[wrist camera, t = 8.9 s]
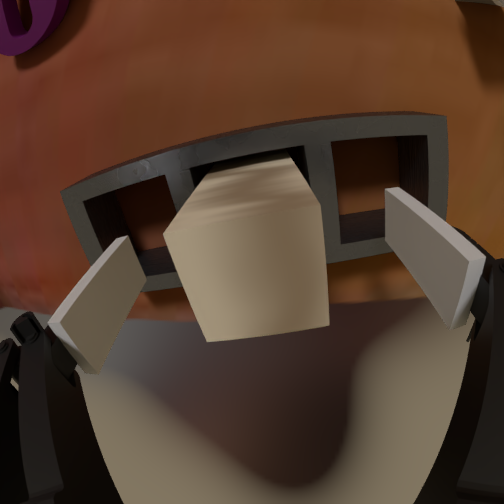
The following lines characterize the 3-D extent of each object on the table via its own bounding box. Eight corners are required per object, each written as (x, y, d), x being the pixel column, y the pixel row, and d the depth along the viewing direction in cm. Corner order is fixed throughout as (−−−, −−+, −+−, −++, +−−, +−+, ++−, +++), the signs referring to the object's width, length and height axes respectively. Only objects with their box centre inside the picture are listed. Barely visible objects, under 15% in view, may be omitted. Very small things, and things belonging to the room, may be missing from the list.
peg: (231, 224, 21) (207, 341, 11) (216, 162, 19) (163, 234, 9) (296, 213, 21) (329, 325, 10) (285, 148, 19) (320, 204, 8)
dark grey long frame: (127, 266, 24) (106, 296, 20) (91, 174, 19) (59, 191, 15) (416, 217, 21) (443, 241, 17) (413, 111, 16) (446, 116, 12)
